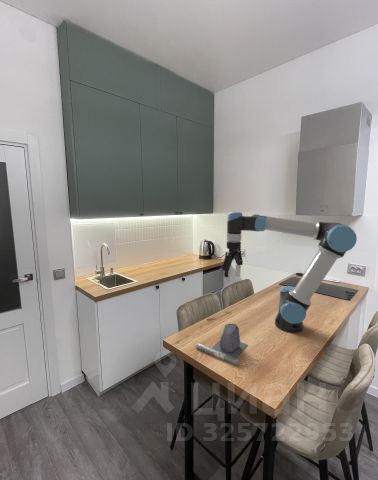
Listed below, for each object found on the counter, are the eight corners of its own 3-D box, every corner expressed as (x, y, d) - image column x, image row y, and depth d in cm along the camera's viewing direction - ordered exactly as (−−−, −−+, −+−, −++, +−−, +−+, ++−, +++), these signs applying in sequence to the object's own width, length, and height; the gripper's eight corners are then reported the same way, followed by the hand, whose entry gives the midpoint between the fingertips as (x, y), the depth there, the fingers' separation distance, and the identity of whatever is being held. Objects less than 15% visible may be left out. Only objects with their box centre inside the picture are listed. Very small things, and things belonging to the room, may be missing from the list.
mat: (247, 345, 124) (247, 344, 124) (234, 360, 112) (234, 360, 112) (224, 336, 132) (224, 335, 132) (209, 350, 120) (209, 349, 120)
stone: (226, 342, 129) (244, 342, 123) (219, 355, 121) (238, 357, 115) (219, 322, 127) (236, 322, 121) (211, 334, 119) (229, 335, 113)
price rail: (238, 363, 110) (238, 359, 110) (236, 366, 109) (237, 362, 108) (197, 346, 123) (197, 342, 122) (195, 348, 121) (195, 344, 121)
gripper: (237, 237, 144) (236, 272, 148) (216, 243, 125) (215, 284, 128) (249, 238, 140) (247, 274, 144) (229, 245, 120) (228, 287, 124)
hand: (232, 279), depth 136 cm, fingers open, 13 cm apart
